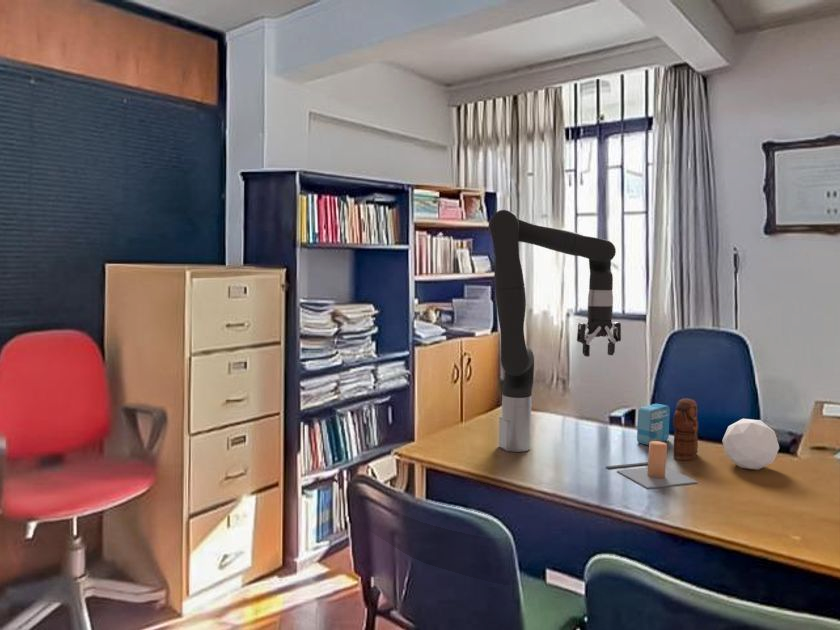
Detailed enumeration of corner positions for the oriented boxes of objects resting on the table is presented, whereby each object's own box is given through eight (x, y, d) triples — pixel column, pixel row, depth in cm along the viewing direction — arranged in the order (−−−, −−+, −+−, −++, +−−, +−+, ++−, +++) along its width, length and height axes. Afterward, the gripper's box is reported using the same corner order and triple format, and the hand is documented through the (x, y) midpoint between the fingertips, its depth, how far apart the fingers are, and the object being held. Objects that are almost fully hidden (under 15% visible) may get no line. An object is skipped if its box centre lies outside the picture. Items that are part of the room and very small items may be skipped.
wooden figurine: (692, 463, 198) (695, 403, 196) (670, 459, 202) (672, 401, 200) (700, 453, 208) (703, 396, 206) (678, 449, 211) (681, 394, 210)
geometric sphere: (763, 486, 193) (798, 454, 185) (717, 469, 192) (750, 436, 183) (750, 450, 205) (782, 419, 196) (707, 434, 203) (737, 401, 195)
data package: (648, 446, 214) (650, 410, 213) (636, 443, 218) (637, 407, 217) (668, 440, 222) (670, 405, 221) (656, 437, 225) (658, 402, 224)
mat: (644, 489, 176) (644, 487, 176) (605, 467, 193) (605, 466, 193) (700, 482, 181) (700, 481, 181) (658, 462, 198) (658, 461, 198)
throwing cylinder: (653, 479, 183) (655, 446, 182) (644, 473, 187) (646, 441, 186) (668, 477, 184) (670, 445, 183) (658, 472, 188) (660, 440, 187)
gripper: (613, 302, 212) (611, 353, 214) (573, 303, 208) (572, 354, 210) (627, 304, 205) (625, 356, 207) (586, 305, 201) (584, 358, 203)
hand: (598, 355), depth 208 cm, fingers open, 8 cm apart
